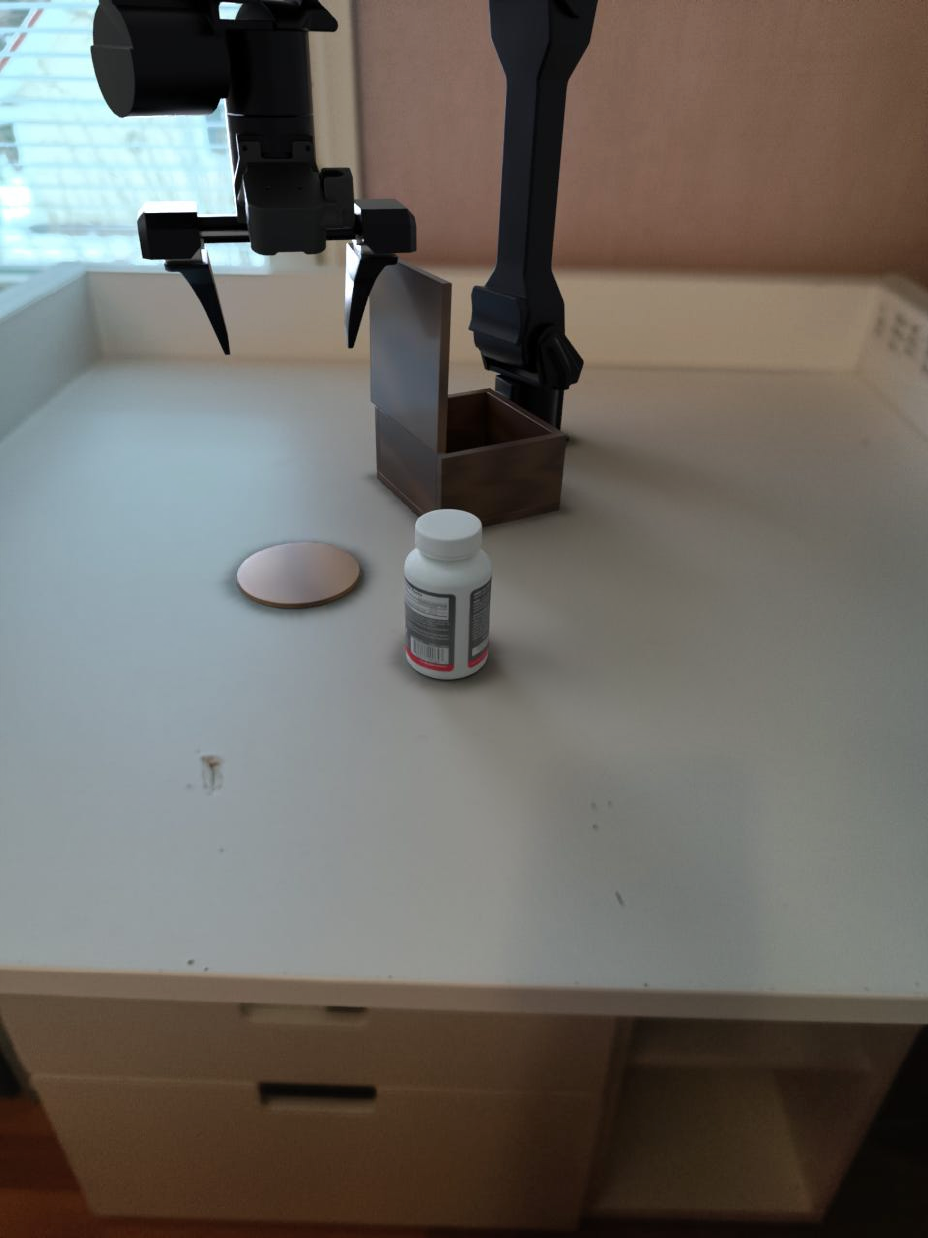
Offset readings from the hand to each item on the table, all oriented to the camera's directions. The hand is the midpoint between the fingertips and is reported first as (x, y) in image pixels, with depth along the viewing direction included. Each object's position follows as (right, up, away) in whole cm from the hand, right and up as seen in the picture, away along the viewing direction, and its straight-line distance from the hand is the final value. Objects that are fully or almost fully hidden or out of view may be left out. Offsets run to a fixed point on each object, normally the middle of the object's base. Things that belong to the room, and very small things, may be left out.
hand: (289, 350), depth 67 cm
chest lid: (+9, +1, +2) cm, 9 cm away
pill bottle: (+12, -23, -9) cm, 28 cm away
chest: (+13, -9, +11) cm, 20 cm away
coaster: (+1, -17, -1) cm, 17 cm away
